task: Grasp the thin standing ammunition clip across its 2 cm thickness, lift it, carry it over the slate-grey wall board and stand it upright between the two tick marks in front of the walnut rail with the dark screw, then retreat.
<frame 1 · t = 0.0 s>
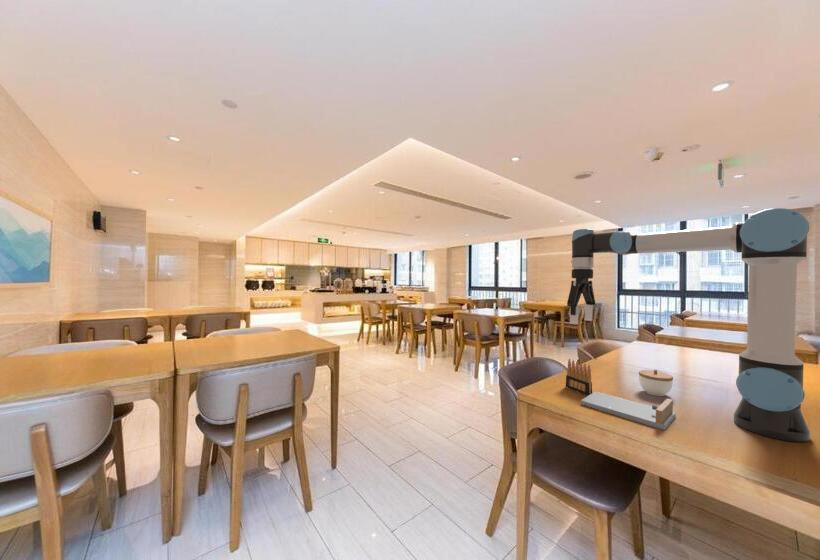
hand: (581, 322, 124), 28 cm above the table, fingers open, 13 cm apart
ammunition clip: (578, 391, 125), on the table
lidded jar: (655, 393, 124), on the table
wall board: (625, 410, 108), on the table
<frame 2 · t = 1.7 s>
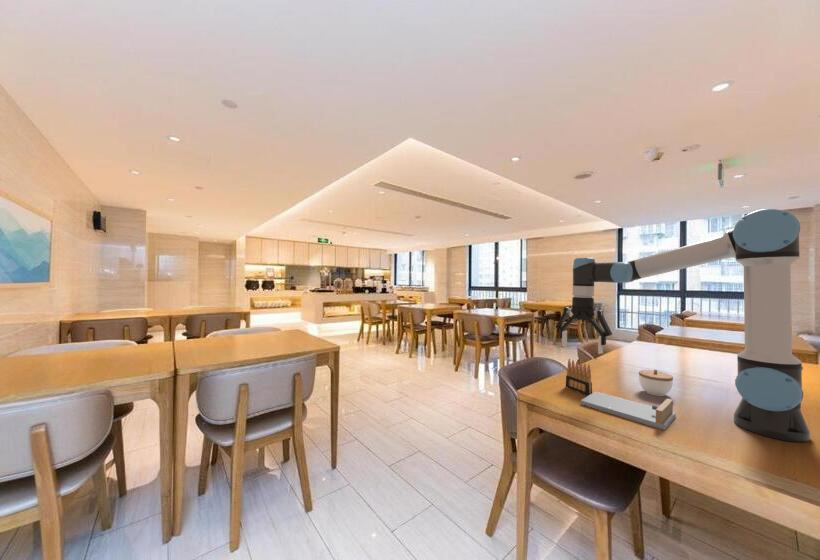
hand: (581, 349, 124), 17 cm above the table, fingers open, 13 cm apart
nothing on the table moved.
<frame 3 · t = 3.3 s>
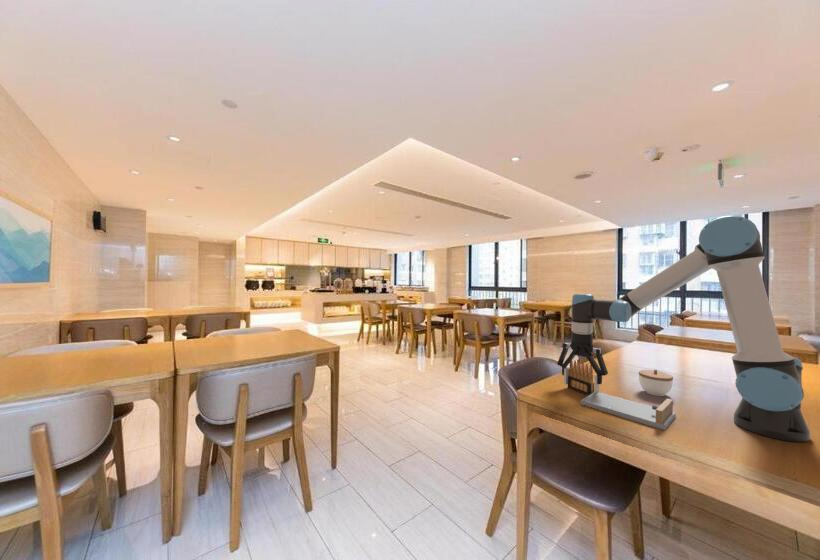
hand: (580, 387, 124), 2 cm above the table, fingers open, 11 cm apart
ammunition clip: (580, 392, 125), on the table, touching gripper
everything else where it was.
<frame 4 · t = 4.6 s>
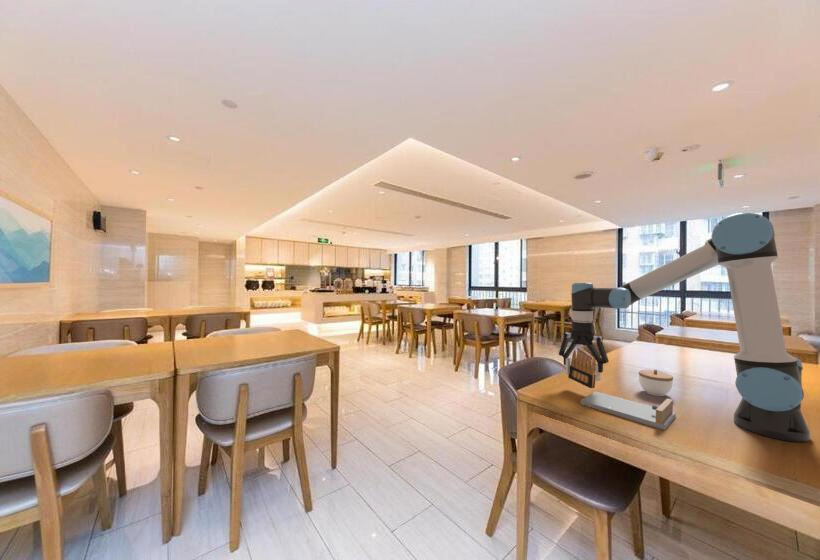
hand: (582, 377, 124), 6 cm above the table, fingers closed on ammunition clip, 10 cm apart
ammunition clip: (580, 383, 124), point 4 cm above the table, touching gripper
everything else where it was.
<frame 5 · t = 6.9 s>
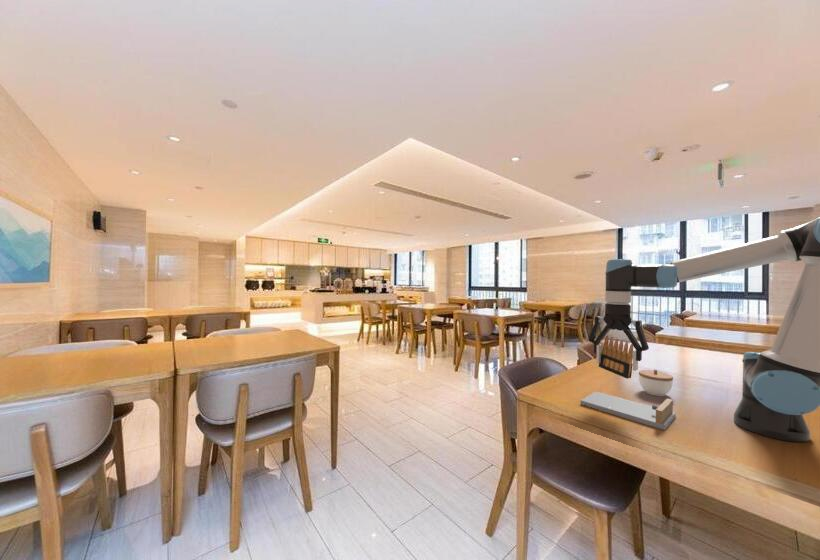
hand: (616, 366, 110), 15 cm above the table, fingers closed on ammunition clip, 10 cm apart
ammunition clip: (613, 372, 110), point 12 cm above the table, touching gripper
everything else where it was.
when the fingers open (4 cm above the table, at t = 9.2 s): ammunition clip stays where it is, resting on wall board.
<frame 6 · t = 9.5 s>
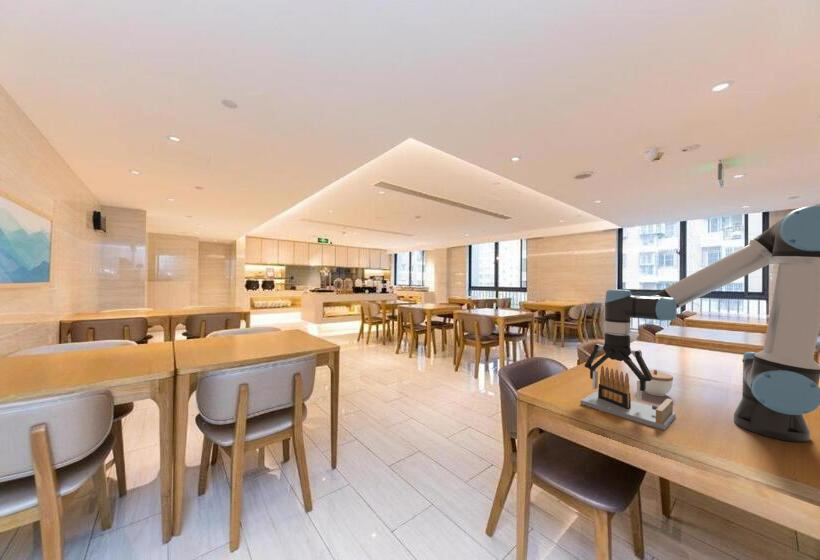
hand: (616, 393, 110), 5 cm above the table, fingers open, 13 cm apart
ammunition clip: (613, 403, 110), point 1 cm above the table, touching wall board
everything else where it was.
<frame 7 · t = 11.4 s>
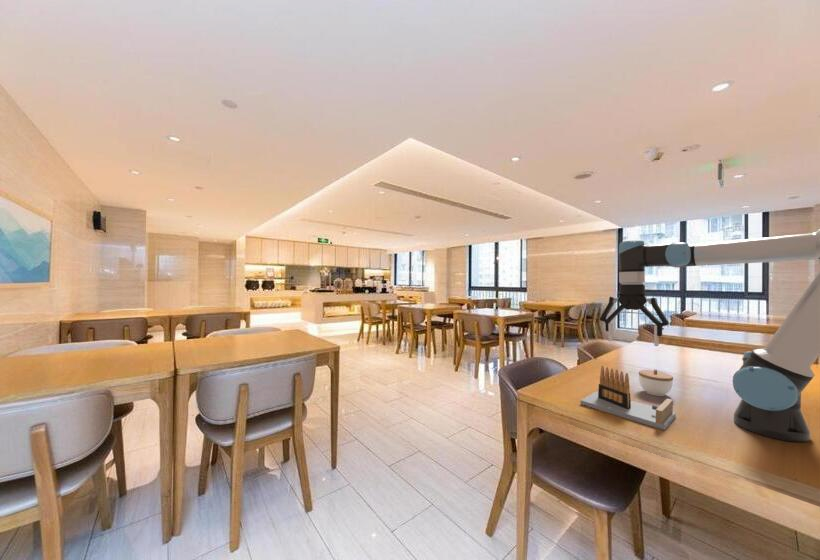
hand: (632, 343, 112), 22 cm above the table, fingers open, 13 cm apart
nothing on the table moved.
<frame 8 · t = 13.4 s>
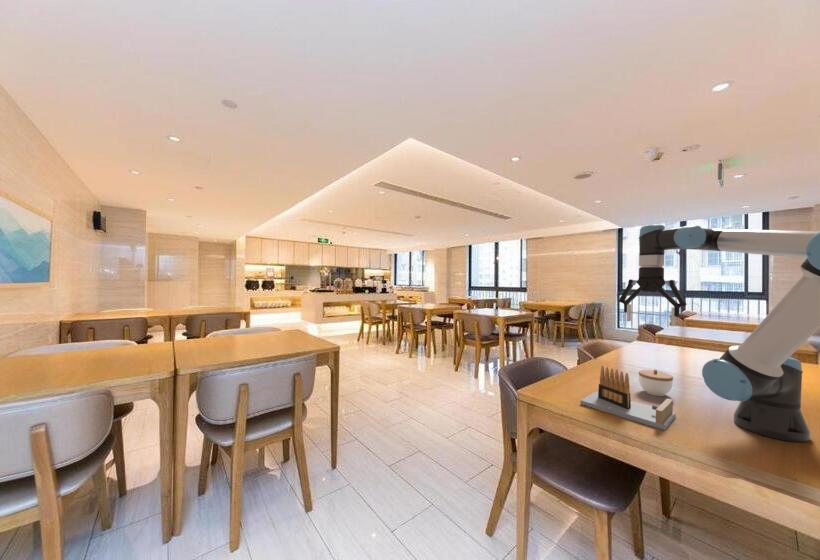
hand: (650, 323, 118), 29 cm above the table, fingers open, 13 cm apart
nothing on the table moved.
at the end: ammunition clip inside the target area on the wall board (2.2 cm from its centre), point 1.3 cm above the wall board's base; ammunition clip tilted 0°; the gripper is holding nothing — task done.
